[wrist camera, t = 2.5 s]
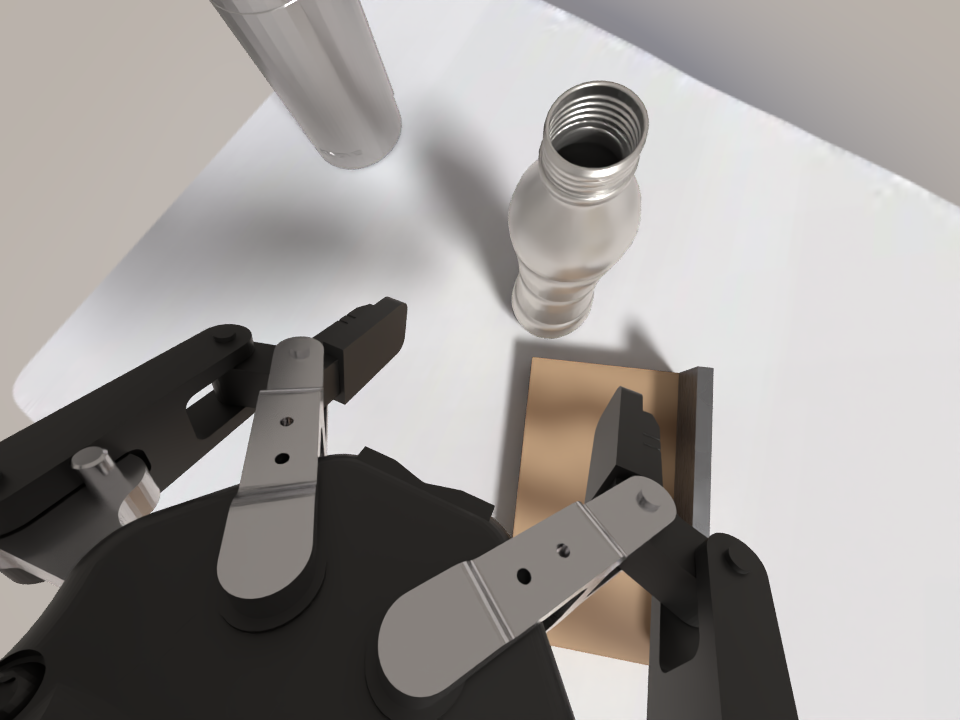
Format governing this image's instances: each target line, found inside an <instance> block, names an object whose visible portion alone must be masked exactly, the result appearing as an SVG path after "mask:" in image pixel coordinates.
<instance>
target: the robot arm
mask: <svg viewBox="0 0 960 720" xmlns="http://www.w3.org/2000/svg"><path fill="white" fill-rule="evenodd" d="M210 2H211V3H212V4H213V6H214V7H215V9H216V10H217V11H218V12H219V14H220V16H221V17H222V18H223V20H224V21H225V22H226V24H227V25H228V27H229V28H230V30H231V31H232V32H233V34H234V35H235V36H236V38H237V39H238V40H239V42H240V43H241V45H242V46H243V48H244V49H245V50H246V52H247V53H248V55H249V56H250V57H251V59H252V60H253V61H254V63H255V64H256V65H257V67H258V68H259V70H260V71H261V73H262V74H263V75H264V77H265V78H266V80H267V81H268V82H269V84H270V85H271V87H272V88H273V89H274V91H275V92H276V94H277V95H278V96H279V98H280V99H281V100H282V102H283V103H284V105H285V106H286V107H287V109H288V110H289V112H290V113H291V114H292V116H293V117H294V119H295V120H296V121H297V123H298V124H299V126H300V127H301V128H302V130H303V131H304V133H305V134H306V135H307V137H308V138H309V139H310V141H311V142H312V144H313V145H314V146H315V148H316V149H317V151H318V152H319V153H320V155H321V156H322V157H323V158H324V159H325V160H326V161H327V162H329V163H330V164H332V165H334V166H336V167H339V168H344V169H360V168H364V167H368V166H370V165H372V164H375V163H377V162H378V161H380V160H381V159H383V158H384V157H385V156H386V155H387V154H388V153H389V152H390V151H391V150H392V149H393V147H394V146H395V144H396V143H397V141H398V138H399V136H400V132H401V127H402V124H401V116H400V113H399V110H398V107H397V104H396V102H395V99H394V91H393V89H392V86H391V83H390V81H389V78H388V75H387V73H386V70H385V67H384V64H383V62H382V59H381V56H380V54H379V51H378V48H377V45H376V43H375V40H374V37H373V35H372V32H371V29H370V27H369V24H368V21H367V18H366V16H365V13H364V10H363V8H362V5H361V2H360V0H210ZM406 319H407V305H406V303H403V302H401V301H398V300H395V299H393V298H390V297H385V298H383V299H382V300H380V301H379V302H378V303H376V304H375V305H372V304H368V305H365V306H361V307H358V308H356V309H354V310H353V311H351V312H350V313H348V314H347V316H346V315H345V316H344V317H342V318H341V319H340V320H339V321H337V322H335V323H334V324H332V325H331V326H329V327H328V328H326V329H325V330H323V331H322V332H320V333H319V334H317V335H316V336H314V337H313V338H310V337H292V338H288V339H285V340H283V341H281V342H280V343H279V344H277V345H270V344H264V343H258V342H253V338H252V334H251V331H250V330H249V329H247V328H246V327H244V326H240V325H235V324H224V325H217V326H214V327H211V328H208V329H206V330H204V331H202V332H201V333H199V334H197V335H195V336H193V337H191V338H190V339H188V340H186V341H184V342H182V343H180V344H179V345H177V346H175V347H173V348H171V349H169V350H168V351H166V352H164V353H162V354H160V355H158V356H157V357H155V358H153V359H151V360H149V361H147V362H146V363H144V364H142V365H140V366H138V367H136V368H135V369H133V370H131V371H129V372H127V373H125V374H124V375H122V376H120V377H118V378H116V379H114V380H113V381H111V382H109V383H107V384H105V385H103V386H102V387H100V388H98V389H96V390H94V391H92V392H91V393H89V394H87V395H85V396H83V397H81V398H80V399H78V400H76V401H74V402H72V403H70V404H69V405H67V406H65V407H63V408H61V409H59V410H58V411H56V412H54V413H52V414H50V415H48V416H47V417H45V418H43V419H41V420H39V421H37V422H36V423H34V424H32V425H30V426H28V427H27V428H25V429H23V430H21V431H19V432H17V433H16V434H14V435H12V436H10V437H8V438H7V439H4V440H3V441H1V442H0V572H1V573H3V574H4V575H5V576H7V577H8V578H10V579H11V580H12V581H14V582H16V583H19V584H36V583H41V582H44V581H47V582H49V583H51V584H54V585H56V586H58V587H59V588H60V589H59V590H58V592H57V594H56V595H55V597H54V598H53V600H52V601H51V602H50V604H49V605H48V607H47V608H46V610H45V611H44V612H43V614H42V615H41V616H40V617H39V619H38V620H37V621H36V622H35V623H34V625H33V626H32V627H31V628H30V630H29V631H28V632H27V633H26V634H25V635H24V636H23V638H22V639H21V640H20V641H19V642H18V643H17V644H16V645H15V646H14V647H13V648H12V649H11V650H10V651H9V652H8V653H7V654H6V655H5V656H4V657H3V658H2V659H1V660H0V720H575V717H574V714H573V711H572V708H571V705H570V702H569V699H568V696H567V693H566V691H565V688H564V685H563V682H562V679H561V676H560V673H559V670H558V667H557V664H556V661H555V658H554V655H553V652H552V649H551V646H550V643H549V640H548V637H547V634H546V633H547V632H548V631H549V630H551V629H552V628H553V627H554V626H556V625H557V624H558V623H559V622H561V621H562V620H563V619H564V618H565V617H566V616H568V615H569V614H570V613H571V612H572V611H573V610H574V609H575V608H576V607H578V606H579V605H580V604H581V603H582V602H584V601H585V600H586V599H587V598H589V597H590V596H591V595H592V594H594V593H595V592H596V591H597V590H599V589H600V588H601V587H603V586H604V585H605V584H606V583H608V582H609V581H610V580H611V579H613V578H614V577H615V576H616V575H618V574H619V573H620V572H621V571H624V572H625V573H626V574H627V575H628V576H630V577H631V578H632V579H633V580H634V581H636V582H637V583H638V584H639V585H640V586H642V587H643V588H644V589H645V590H646V591H648V592H649V593H650V594H651V595H652V599H651V624H650V650H649V675H648V701H647V720H799V719H798V715H797V710H796V705H795V701H794V696H793V691H792V687H791V682H790V677H789V673H788V668H787V663H786V659H785V654H784V649H783V645H782V640H781V635H780V631H779V626H778V622H777V617H776V612H775V608H774V603H773V598H772V594H771V589H770V584H769V580H768V575H767V572H766V570H765V568H764V566H763V564H762V562H761V561H760V559H759V558H758V556H757V555H756V554H755V553H754V552H753V551H752V550H751V549H750V548H749V547H748V546H747V545H746V544H744V543H743V542H742V541H740V540H739V539H737V538H735V537H733V536H731V535H729V534H725V533H715V534H712V535H711V536H710V537H709V538H707V537H706V536H705V535H703V534H702V533H700V532H699V531H698V530H696V529H695V528H693V527H692V526H691V525H689V524H688V523H687V522H685V521H684V520H683V519H682V518H680V517H679V516H678V515H677V514H676V506H675V503H674V501H673V499H672V497H671V496H670V494H669V493H668V492H667V491H666V490H665V489H664V488H663V477H662V459H661V452H660V450H661V442H660V427H659V425H658V423H657V421H656V420H655V418H654V416H653V414H651V413H648V412H646V411H643V395H642V394H640V393H638V392H635V391H633V390H630V389H627V388H625V387H622V386H619V387H618V388H617V390H616V391H615V393H614V395H613V397H612V398H611V400H610V402H609V403H608V405H607V407H606V409H605V410H604V412H603V414H602V415H601V417H600V419H599V421H598V424H597V427H596V430H595V434H594V441H593V448H592V454H591V461H590V468H589V475H588V482H587V488H586V495H585V502H584V505H583V504H582V503H581V501H577V502H574V503H572V504H571V505H569V506H567V507H565V508H564V509H562V510H560V511H558V512H557V513H555V514H553V515H551V516H550V517H548V518H546V519H544V520H543V521H541V522H539V523H537V524H536V525H534V526H532V527H530V528H529V529H527V530H525V531H523V532H522V533H520V534H518V535H516V536H515V537H513V538H511V537H510V536H509V534H508V533H507V532H506V530H505V529H504V528H503V527H502V526H501V525H500V524H499V523H498V522H497V521H496V520H495V519H493V518H492V517H491V515H492V512H493V510H494V507H495V506H494V505H492V504H490V503H488V502H485V501H483V500H481V499H479V498H477V497H475V496H472V495H470V494H468V493H466V492H464V491H461V490H456V489H451V488H447V487H442V486H437V485H432V484H427V483H424V482H422V481H421V480H419V479H418V478H417V477H416V476H415V475H413V474H412V473H411V472H410V471H408V470H407V469H406V468H405V467H403V466H402V465H401V464H400V463H399V462H397V461H396V460H394V459H392V458H390V457H388V456H385V455H383V454H381V453H379V452H377V451H375V450H372V449H370V448H368V447H366V446H365V447H364V449H363V450H362V451H361V452H360V453H359V455H352V454H335V455H327V437H328V404H329V403H330V402H331V401H332V400H335V401H338V402H340V403H342V404H344V405H345V404H346V403H347V402H348V401H349V400H350V399H351V398H352V397H353V396H354V395H356V394H357V393H358V392H359V391H360V390H361V389H362V388H363V387H364V386H365V385H366V384H367V383H368V382H369V381H370V380H371V379H372V378H373V377H374V376H375V375H376V374H377V373H378V372H379V371H380V370H381V369H382V368H383V367H384V366H385V365H386V364H387V363H388V362H389V361H390V360H391V359H392V358H393V357H394V356H395V355H396V354H397V353H398V352H399V351H400V349H401V347H402V345H403V343H404V339H405V329H406ZM211 383H212V385H213V388H214V390H213V391H211V392H210V393H208V394H207V395H206V396H204V397H203V398H201V399H200V400H198V401H197V402H196V403H194V404H193V405H191V406H190V407H189V408H187V409H186V405H187V403H188V401H189V400H190V398H191V397H192V396H193V395H195V394H196V393H198V392H199V391H200V390H202V389H203V388H205V387H206V386H208V385H209V384H211ZM254 413H255V415H254V419H253V424H252V429H251V433H250V438H249V443H248V448H247V452H246V457H245V462H244V466H243V471H242V476H241V481H240V484H237V485H234V486H231V487H228V488H225V489H222V490H219V491H216V492H213V493H210V494H207V495H204V496H201V497H198V498H195V499H192V500H189V501H186V502H183V503H180V504H177V505H174V506H171V507H168V508H165V509H162V510H159V511H157V512H154V513H151V512H152V511H153V510H154V508H155V507H156V505H157V503H158V502H159V498H160V493H161V492H162V491H163V490H164V489H166V488H167V487H168V486H169V485H170V484H171V483H173V482H174V481H175V480H176V479H177V478H178V477H180V476H181V475H182V474H183V473H184V472H185V471H187V470H188V469H189V468H190V467H191V466H193V465H194V464H195V463H196V462H197V461H198V460H200V459H201V458H202V457H203V456H204V455H205V454H207V453H208V452H209V451H210V450H211V449H213V448H214V447H215V446H216V445H217V444H218V443H220V442H221V441H222V440H223V439H224V438H225V437H227V436H228V435H229V434H230V433H231V432H232V431H234V430H235V429H236V428H237V427H238V426H240V425H241V424H242V423H243V422H244V421H245V420H247V419H248V418H249V417H250V416H251V415H252V414H254ZM150 513H151V514H150Z"/></svg>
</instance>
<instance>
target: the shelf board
mask: <svg viewBox="0 0 960 720" xmlns="http://www.w3.org/2000/svg"><path fill="white" fill-rule="evenodd" d="M678 382H679V373H674V372H665V371H656V370H647V369H638V368H629V367H619V366H610V365H601V364H592V363H583V362H574V361H565V360H555V359H546V358H537V357H533V358H532V362H531V372H530V381H529V390H528V399H527V408H526V417H525V426H524V436H523V445H522V454H521V463H520V472H519V481H518V491H517V500H516V509H515V518H514V527H513V536H512V538H513V537H515V536H516V535H518V534H520V533H522V532H523V531H525V530H527V529H529V528H530V527H532V526H534V525H536V524H537V523H539V522H541V521H543V520H544V519H546V518H548V517H550V516H551V515H553V514H555V513H557V512H558V511H560V510H562V509H564V508H565V507H567V506H569V505H571V504H572V503H574V502H577V501H581V503H582V504H583V505H584V502H585V495H586V488H587V482H588V475H589V468H590V461H591V454H592V448H593V441H594V434H595V430H596V427H597V424H598V421H599V419H600V417H601V415H602V414H603V412H604V410H605V409H606V407H607V405H608V403H609V402H610V400H611V398H612V397H613V395H614V393H615V391H616V390H617V388H618V387H619V386H622V387H625V388H627V389H630V390H633V391H635V392H638V393H640V394H642V395H643V411H646V412H648V413H651V414H653V416H654V418H655V420H656V421H657V423H658V425H659V427H660V442H661V450H660V452H661V459H662V477H663V488H664V489H665V490H666V491H667V492H668V493H669V494H670V496H671V497H672V499H673V501H674V480H675V456H676V431H677V406H678ZM651 599H652V595H651V594H650V593H649V592H648V591H646V590H645V589H644V588H643V587H642V586H640V585H639V584H638V583H637V582H636V581H634V580H633V579H632V578H631V577H630V576H628V575H627V574H626V573H625V572H624V571H621V572H620V573H619V574H618V575H616V576H615V577H614V578H613V579H611V580H610V581H609V582H608V583H606V584H605V585H604V586H603V587H601V588H600V589H599V590H597V591H596V592H595V593H594V594H592V595H591V596H590V597H589V598H587V599H586V600H585V601H584V602H582V603H581V604H580V605H579V606H578V607H576V608H575V609H574V610H573V611H572V612H571V613H570V614H569V615H568V616H566V617H565V618H564V619H563V620H562V621H561V622H559V623H558V624H557V625H556V626H554V627H553V628H552V629H551V630H549V631H548V632H547V633H546V634H547V637H548V640H549V643H550V645H551V646H556V647H561V648H566V649H570V650H575V651H580V652H585V653H590V654H595V655H600V656H605V657H610V658H615V659H620V660H625V661H629V662H634V663H639V664H644V665H649V650H650V624H651Z"/></svg>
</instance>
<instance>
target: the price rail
mask: <svg viewBox="0 0 960 720" xmlns="http://www.w3.org/2000/svg"><path fill="white" fill-rule="evenodd" d="M713 369H714V368H708V367H695V368H692V369H689V370H686V371H683V372H680V373H679V382H678V406H677V431H676V456H675V480H674V503H675V506H676V514H677V515H678V516H679V517H680V518H682V519H683V520H684V521H685V522H687V523H688V524H689V525H691V526H692V527H693V528H695V529H696V530H698V531H699V532H700V533H702V534H703V535H705V536H706V537H707V538H709V532H710V491H711V451H712V410H713Z"/></svg>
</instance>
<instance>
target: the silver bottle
mask: <svg viewBox="0 0 960 720" xmlns="http://www.w3.org/2000/svg"><path fill="white" fill-rule="evenodd" d="M648 126H649V119H648V114H647V110H646V108H645V106H644V104H643V102H642V101H641V100H640V98H639V97H638V96H637V95H636V94H635V93H634V92H633V91H631V90H630V89H628V88H627V87H625V86H623V85H621V84H618V83H614V82H610V81H590V82H585V83H582V84H579V85H576V86H574V87H572V88H570V89H569V90H567V91H565V92H564V93H563V94H562V95H561V96H559V97H558V98H557V100H556V101H555V102H554V103H553V105H552V106H551V108H550V110H549V112H548V114H547V117H546V121H545V124H544V131H543V140H542V142H541V146H540V149H539V158H538V160H536V161H535V162H534V163H533V164H532V165H531V166H530V167H529V168H528V169H527V170H526V171H525V173H524V174H523V175H522V177H521V179H520V181H519V183H518V184H517V186H516V189H515V191H514V193H513V195H512V198H511V202H510V205H509V211H508V225H509V232H510V238H511V241H512V244H513V247H514V250H515V253H516V256H517V259H518V263H519V274H518V276H517V278H516V281H515V284H514V288H513V291H512V308H513V311H514V314H515V316H516V318H517V320H518V321H519V323H520V324H521V325H522V326H523V327H524V329H525V330H527V331H528V332H529V333H531V334H533V335H535V336H537V337H540V338H544V339H554V338H560V337H563V336H565V335H568V334H570V333H571V332H573V331H575V330H576V329H577V328H578V327H580V326H581V325H582V324H583V322H584V321H585V320H586V318H587V317H588V315H589V313H590V311H591V307H592V303H593V298H594V289H595V286H596V284H597V283H598V281H599V280H600V279H601V277H602V276H603V275H604V274H605V273H606V272H608V271H609V270H610V269H611V268H612V267H613V266H614V265H615V264H616V263H617V262H618V261H619V260H620V259H621V257H622V256H623V255H624V254H625V252H626V251H627V250H628V248H629V247H630V246H631V244H632V243H633V241H634V238H635V236H636V234H637V232H638V228H639V224H640V218H641V193H640V188H639V185H638V182H637V180H636V178H635V176H634V173H635V171H636V169H637V166H638V162H639V156H640V153H641V151H642V149H643V146H644V144H645V141H646V137H647V133H648Z"/></svg>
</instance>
